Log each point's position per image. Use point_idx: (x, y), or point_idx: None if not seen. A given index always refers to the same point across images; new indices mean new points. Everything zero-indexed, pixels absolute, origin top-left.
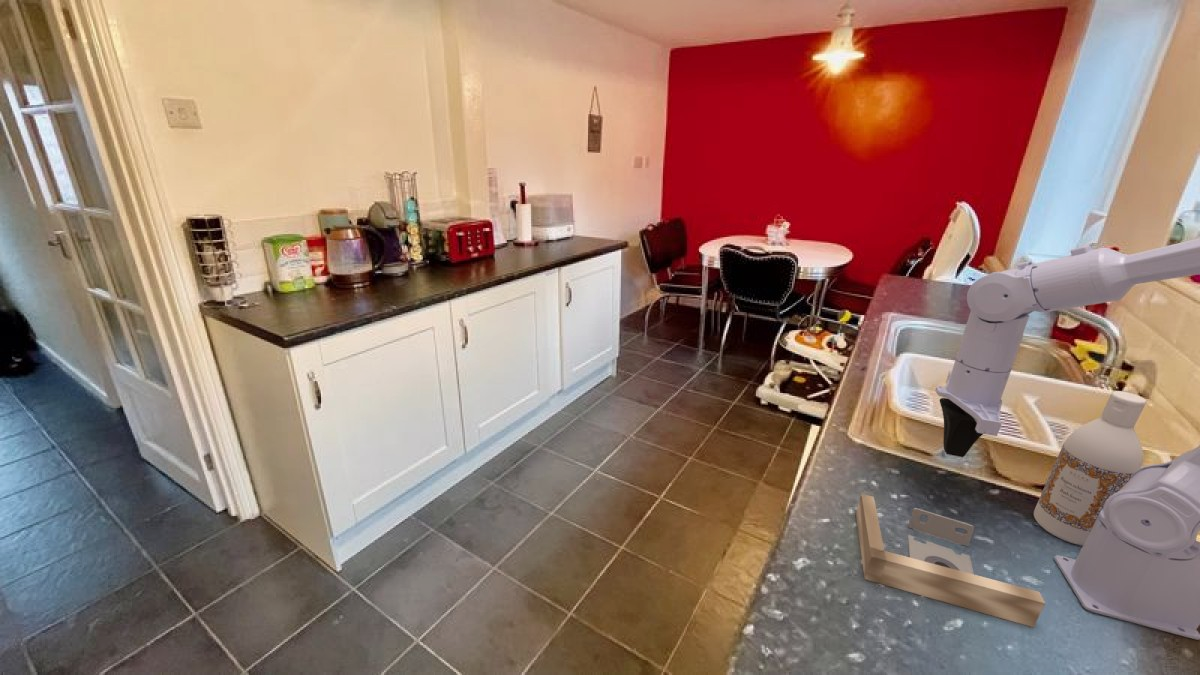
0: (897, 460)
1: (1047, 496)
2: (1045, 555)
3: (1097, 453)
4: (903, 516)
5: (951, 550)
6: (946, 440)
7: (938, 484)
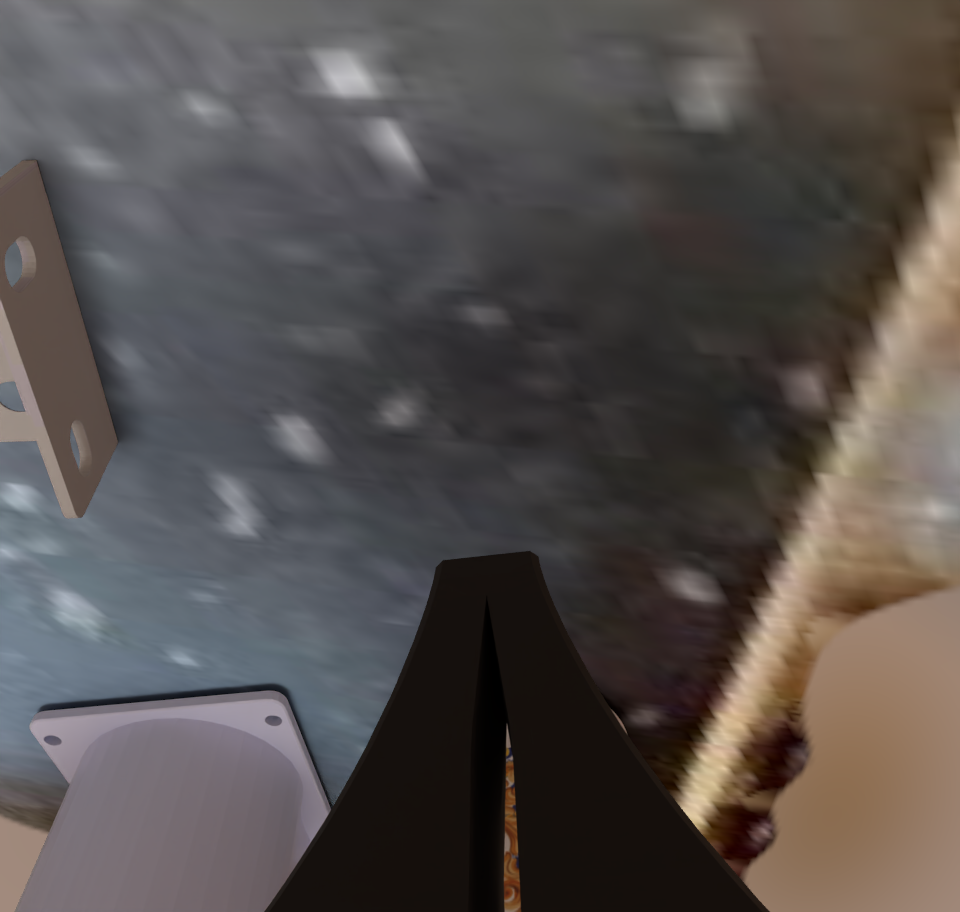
0: (885, 119)
1: (506, 814)
2: (286, 668)
3: None
4: (131, 135)
5: (9, 372)
6: (433, 656)
7: (648, 363)
